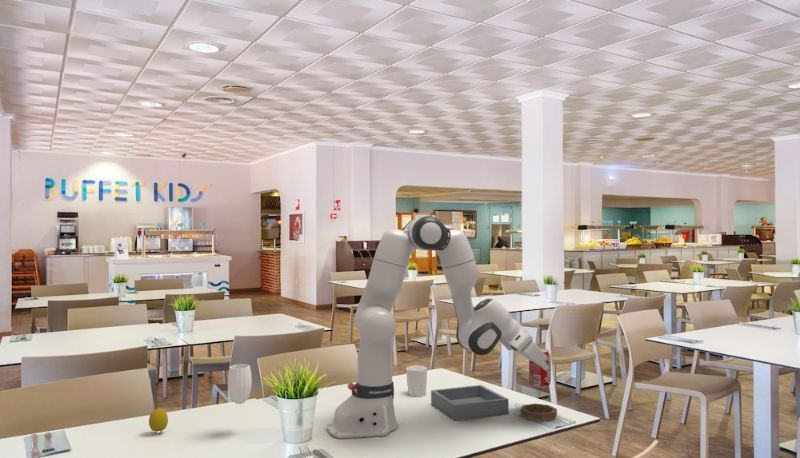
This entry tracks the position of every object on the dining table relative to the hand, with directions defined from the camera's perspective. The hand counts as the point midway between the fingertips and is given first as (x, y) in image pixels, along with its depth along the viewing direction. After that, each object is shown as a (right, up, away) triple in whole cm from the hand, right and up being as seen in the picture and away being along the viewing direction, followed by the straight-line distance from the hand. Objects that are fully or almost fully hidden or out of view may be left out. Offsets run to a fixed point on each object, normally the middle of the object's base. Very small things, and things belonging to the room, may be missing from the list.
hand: (541, 365), depth 201 cm
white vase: (-97, -18, -13) cm, 100 cm away
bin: (-23, -17, +9) cm, 30 cm away
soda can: (-1, -7, 0) cm, 7 cm away
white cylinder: (-41, -17, +28) cm, 53 cm away
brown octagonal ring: (-1, -17, 0) cm, 17 cm away
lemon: (-123, -18, -13) cm, 125 cm away
